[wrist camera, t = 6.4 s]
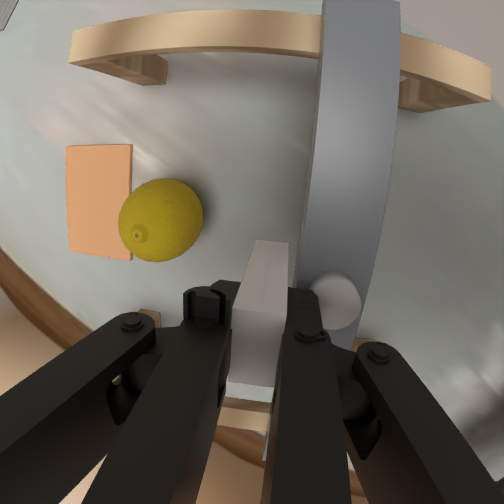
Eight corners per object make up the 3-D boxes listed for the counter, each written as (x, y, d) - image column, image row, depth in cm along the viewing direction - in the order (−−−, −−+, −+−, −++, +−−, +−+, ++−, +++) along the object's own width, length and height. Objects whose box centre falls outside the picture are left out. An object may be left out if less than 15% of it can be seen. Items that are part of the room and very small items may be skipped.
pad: (132, 144, 24) (130, 144, 23) (132, 259, 27) (130, 260, 27) (68, 146, 24) (66, 146, 24) (72, 249, 27) (69, 251, 27)
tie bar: (386, 18, 10) (409, -9, 7) (308, 441, 19) (308, 478, 16) (322, 5, 10) (329, -28, 7) (264, 437, 19) (260, 474, 16)
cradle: (421, 89, 20) (491, 66, 10) (368, 356, 28) (391, 435, 18) (145, 63, 21) (73, 31, 12) (141, 326, 29) (93, 392, 20)
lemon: (145, 177, 24) (91, 193, 17) (210, 170, 24) (175, 183, 16) (154, 241, 26) (107, 279, 19) (217, 239, 25) (187, 280, 18)
